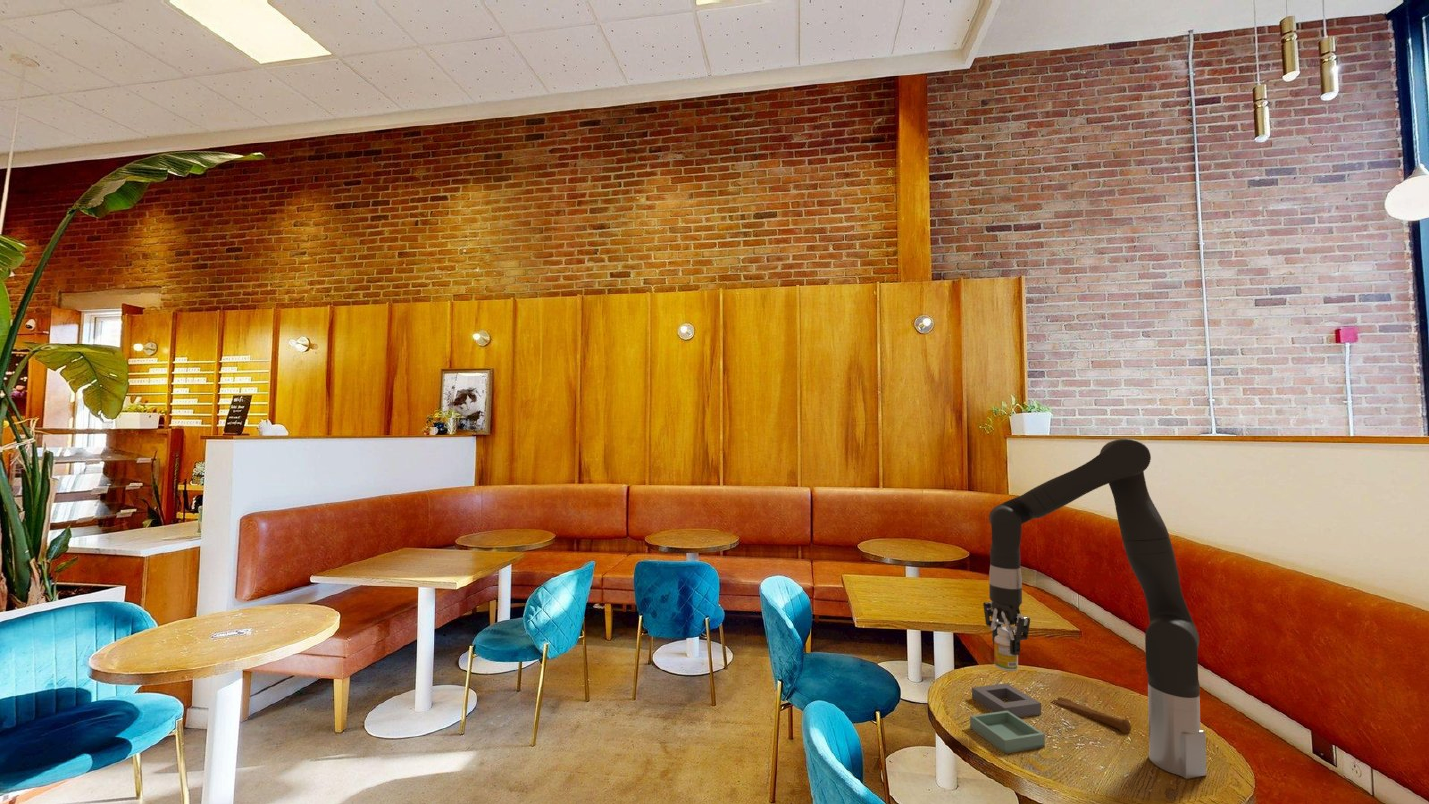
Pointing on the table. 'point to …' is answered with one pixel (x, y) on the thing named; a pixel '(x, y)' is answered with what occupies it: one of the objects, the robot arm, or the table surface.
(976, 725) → the tray
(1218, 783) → the table surface
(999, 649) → the supplement bottle
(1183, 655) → the robot arm
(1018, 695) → the socket block
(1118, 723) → the primitive tool
